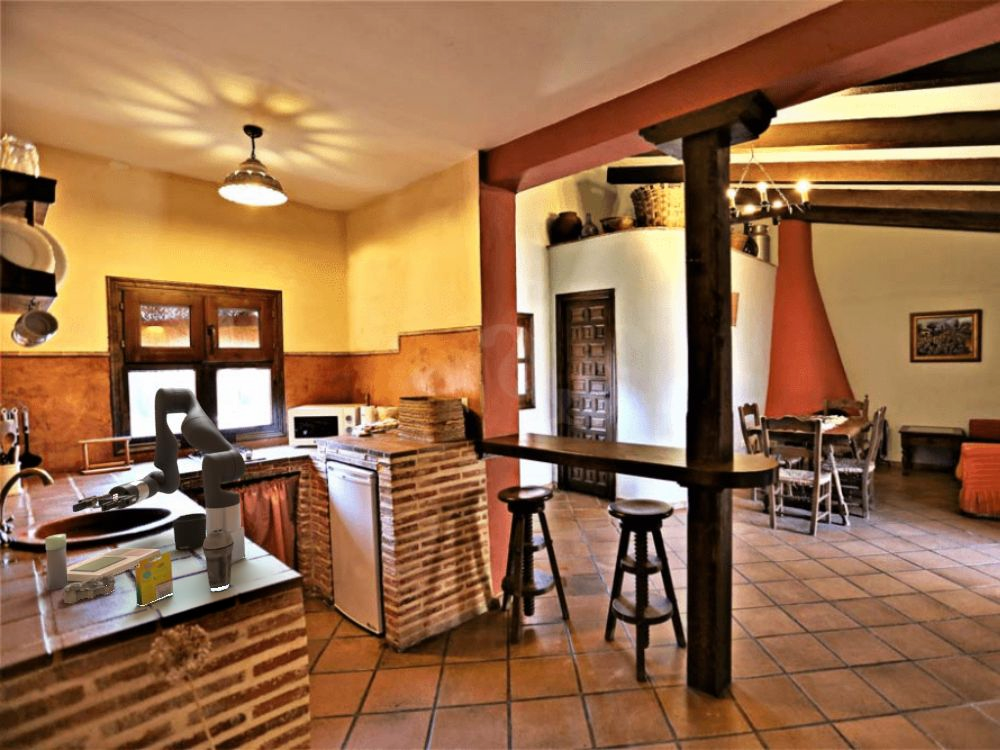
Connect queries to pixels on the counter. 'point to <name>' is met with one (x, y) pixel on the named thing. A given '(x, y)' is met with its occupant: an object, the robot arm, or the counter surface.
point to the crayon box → (153, 578)
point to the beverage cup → (218, 556)
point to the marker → (56, 561)
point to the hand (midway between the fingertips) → (88, 508)
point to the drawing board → (109, 563)
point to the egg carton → (88, 588)
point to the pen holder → (190, 531)
